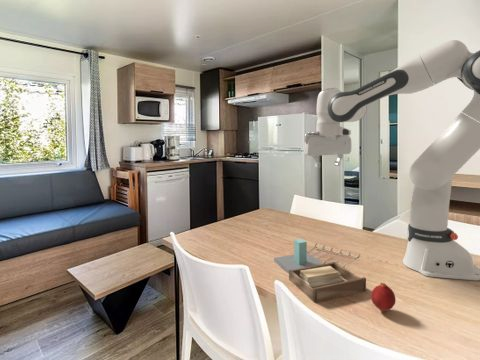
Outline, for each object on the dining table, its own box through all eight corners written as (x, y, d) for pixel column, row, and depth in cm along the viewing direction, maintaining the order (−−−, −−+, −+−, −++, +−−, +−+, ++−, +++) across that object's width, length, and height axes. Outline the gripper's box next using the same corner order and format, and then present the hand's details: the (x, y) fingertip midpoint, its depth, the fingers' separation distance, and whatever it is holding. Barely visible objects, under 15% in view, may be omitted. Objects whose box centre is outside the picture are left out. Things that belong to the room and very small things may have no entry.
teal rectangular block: (294, 260, 110) (294, 239, 109) (301, 259, 111) (301, 238, 110) (299, 264, 107) (299, 242, 106) (306, 263, 108) (306, 241, 107)
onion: (380, 302, 84) (381, 275, 83) (399, 312, 79) (401, 284, 78) (365, 308, 81) (366, 280, 80) (385, 319, 76) (386, 290, 75)
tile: (274, 260, 114) (274, 257, 114) (306, 255, 118) (306, 252, 118) (292, 276, 101) (292, 273, 101) (328, 269, 105) (328, 266, 105)
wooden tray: (288, 279, 99) (288, 267, 99) (334, 270, 105) (334, 259, 104) (314, 302, 85) (314, 289, 84) (365, 290, 90) (366, 278, 90)
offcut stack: (296, 279, 99) (296, 270, 98) (330, 272, 103) (330, 263, 102) (307, 288, 93) (307, 278, 92) (342, 280, 97) (342, 271, 97)
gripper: (309, 131, 113) (309, 168, 115) (354, 130, 120) (353, 165, 122) (300, 132, 119) (300, 167, 121) (343, 131, 126) (343, 164, 127)
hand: (327, 166), depth 121 cm, fingers open, 8 cm apart
